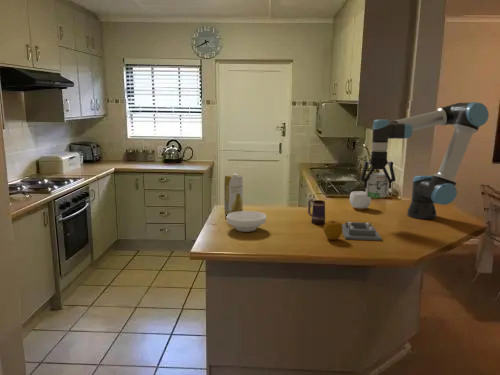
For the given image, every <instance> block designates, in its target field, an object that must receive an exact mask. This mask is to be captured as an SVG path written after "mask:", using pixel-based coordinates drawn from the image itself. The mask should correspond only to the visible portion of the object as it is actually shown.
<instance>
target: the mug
mask: <svg viewBox="0 0 500 375" xmlns="http://www.w3.org/2000/svg"><path fill="white" fill-rule="evenodd" d="M311 202H312V212H311ZM307 205H308V206H307V213H308V215H309V216H310V217H311V223H312V224H313V223H314V224H313V225H318V224H321V225H325V223H326V202H325V201H324V200H321V199H316V200H314V199H312V198H310V199H308V201H307Z"/></svg>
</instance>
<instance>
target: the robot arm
mask: <svg viewBox="0 0 500 375" xmlns="http://www.w3.org/2000/svg"><path fill="white" fill-rule="evenodd" d="M488 120H489V110H488V107H487V106H486V105H485V104H484V103H481V102H476V101H475V102H474V101H471V102H457V103H452V104H449V105H446V106H443V107H439V108H437V109H436V110H434V111H431V112H426V113H422V114H418V115H414V116H410V117H405V118H400V119H395V120H392V121H390V120H389V119H374V120H373V124H372V143H371V150H372V151H371V154H370V155H371V156H370V160H369V161H367V160H366V161H364V167H363V170H362V173H361V175H360V180H361V181H362V182H363V188H364V189H365V192H366V195H368V185H369V182H368V181H369V178H370V175H371V174H373V173H374V171H375V170H382V172H383V174H385V175H386V177H387V189H386V196H389V195H390V194H389V192H390V189H392V183H393V182H396V176H395V170H394V162H393V161H388V149H389V145H388V144H389V139H392V140H393V139H398V140H399V139H410V138H411V137H412V136H413V135H412V134H413V131H417V130H422V129H427V128H430V127H435V126H441V127H442V126H447V125H449V126H451V125H452V126H453V128H454V131H453V134H452V136H451V139H450V141H449V142H448V143H449V144H448V146H447V148H446V151H445V153H444V155H443V158H442V160H441V163H440V166H439V169H438V171H437V172H436V173H433V175H414V177H413V179H412V192H411V201H410V204H409V207H408V209H407V211H406V212H407V213H406V215H407V216H408V217H410V218H414V219H421V220H434V219H436V218H437V209H436V206H435V205H437V204H438V205H443V206H446V205H448V204H451V203H453V201H455V200H456V197H457V195H458V190H457V187H456V185H457V180H456V176H457V174H458V172H459V168H460V166H461V164H462V162H463V159H464V157H465V154H466V152H467V149H468V146H469V144H470V142H471V139H472V137H473V135H474V134H476V133H478V132H479V128H480V127H482V126H484V125H485V124H486V123H487V122H488ZM387 165H388V167H389V171H390V175H389V173H388V171H387V168H386V166H387ZM369 166H371V167H370V169H369V171H368V168H369ZM367 171H368V173H367ZM390 176H391V177H390Z"/></svg>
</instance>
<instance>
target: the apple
mask: <svg viewBox="0 0 500 375" xmlns="http://www.w3.org/2000/svg"><path fill="white" fill-rule="evenodd" d="M323 225H324V226H323V233H324V236H325V237H326V238H327V240H330V241H335V240H338V239H339V238H340V237H341V236H342V234H343V232H342V229H343V227H342V225H343V224H342V223H341V222H340V221H338V220H328V221H325V223H324V224H323Z"/></svg>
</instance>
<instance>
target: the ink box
mask: <svg viewBox="0 0 500 375" xmlns="http://www.w3.org/2000/svg"><path fill="white" fill-rule="evenodd" d="M368 182H369V185H368V197H371V199H379V198H386V197H387V195H386V189H387V182H388V179H387V177H386V175H385V173H384V172H377V173H374V172H373V173H372V174H371V175H370V178H369V179H368Z"/></svg>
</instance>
